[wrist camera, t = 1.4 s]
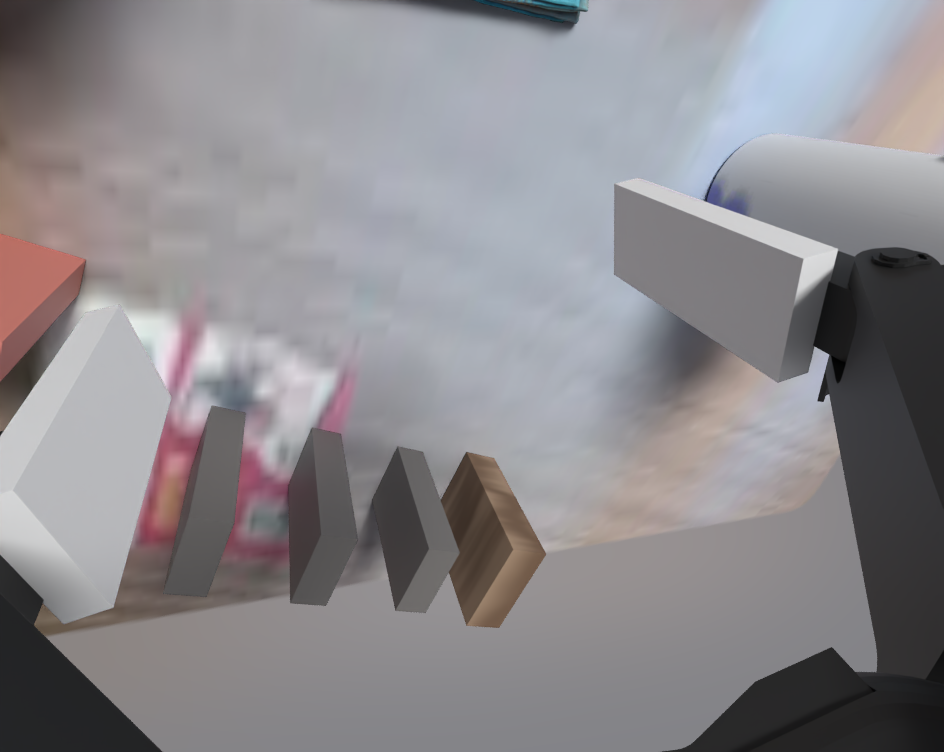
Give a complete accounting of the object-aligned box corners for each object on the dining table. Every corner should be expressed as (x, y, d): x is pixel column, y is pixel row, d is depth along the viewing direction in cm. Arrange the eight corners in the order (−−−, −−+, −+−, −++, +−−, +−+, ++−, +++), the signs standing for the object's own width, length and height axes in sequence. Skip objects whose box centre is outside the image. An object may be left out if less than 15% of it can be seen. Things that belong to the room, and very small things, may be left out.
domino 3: (372, 499, 49) (395, 610, 39) (397, 446, 47) (429, 548, 37) (396, 504, 50) (425, 612, 40) (422, 452, 48) (459, 552, 38)
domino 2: (288, 485, 46) (290, 603, 36) (312, 427, 44) (321, 534, 34) (316, 490, 47) (326, 605, 37) (340, 433, 45) (358, 539, 35)
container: (827, 163, 46) (1136, 218, 29) (758, 271, 49) (1000, 375, 33) (751, 110, 42) (1063, 139, 25) (681, 233, 45) (915, 330, 28)
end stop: (431, 518, 52) (466, 625, 42) (466, 452, 49) (513, 549, 39) (458, 522, 53) (498, 627, 43) (494, 458, 51) (546, 554, 41)
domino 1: (190, 469, 42) (162, 593, 32) (211, 405, 40) (188, 517, 30) (223, 474, 43) (206, 597, 33) (245, 412, 41) (234, 523, 31)
